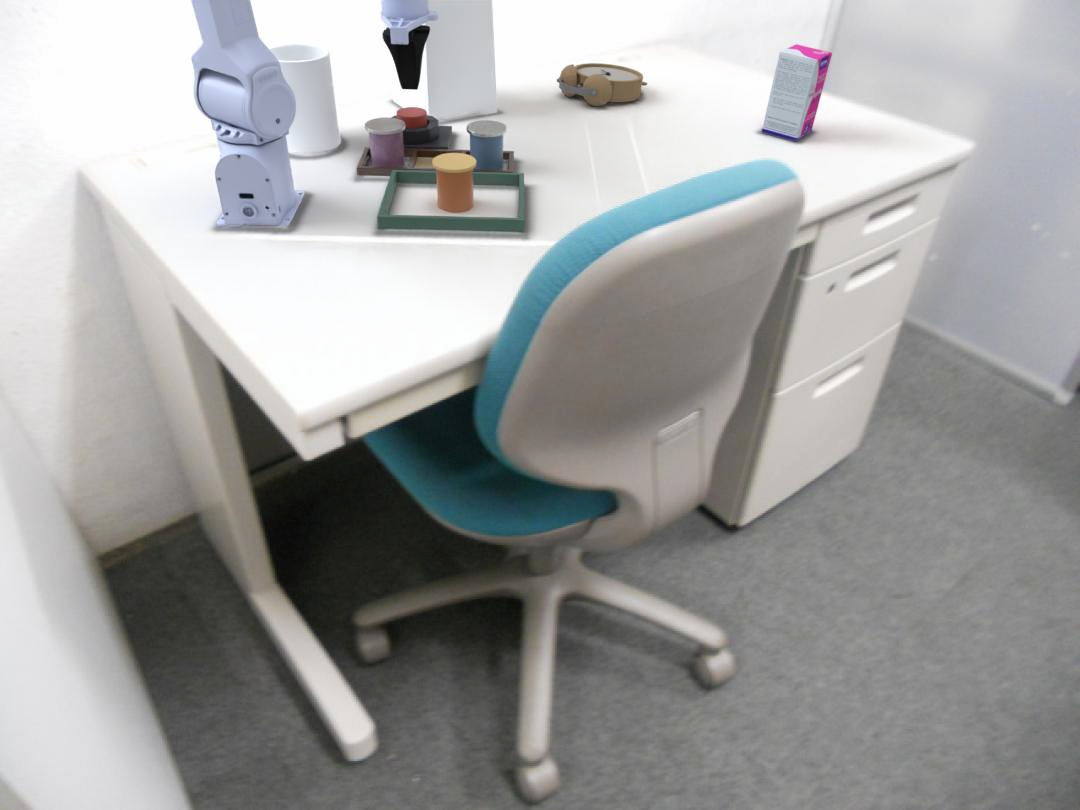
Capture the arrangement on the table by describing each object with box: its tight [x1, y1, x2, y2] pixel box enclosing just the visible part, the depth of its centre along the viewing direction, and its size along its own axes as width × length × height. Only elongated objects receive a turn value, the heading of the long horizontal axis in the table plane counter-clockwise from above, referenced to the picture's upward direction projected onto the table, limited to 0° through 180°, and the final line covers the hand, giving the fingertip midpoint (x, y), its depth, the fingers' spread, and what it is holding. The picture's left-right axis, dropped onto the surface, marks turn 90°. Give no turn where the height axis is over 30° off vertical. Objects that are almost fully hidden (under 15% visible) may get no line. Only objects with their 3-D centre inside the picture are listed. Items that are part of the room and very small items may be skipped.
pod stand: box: [356, 146, 515, 177], centre depth 105 cm, size 7×20×2 cm, turn 91°
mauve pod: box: [364, 117, 406, 167], centre depth 104 cm, size 5×5×5 cm
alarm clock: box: [556, 62, 648, 107], centre depth 130 cm, size 11×5×15 cm
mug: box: [268, 43, 342, 155], centre depth 108 cm, size 12×8×12 cm
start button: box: [396, 107, 427, 128], centre depth 110 cm, size 4×4×2 cm
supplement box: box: [760, 43, 833, 142], centre depth 118 cm, size 6×6×12 cm
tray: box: [376, 170, 525, 233], centre depth 96 cm, size 13×16×2 cm
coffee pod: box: [432, 153, 476, 214], centre depth 95 cm, size 5×5×5 cm
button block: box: [390, 114, 453, 150], centre depth 111 cm, size 10×8×3 cm
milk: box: [391, 0, 498, 121], centre depth 117 cm, size 12×12×26 cm
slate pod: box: [465, 119, 507, 170], centre depth 104 cm, size 5×5×5 cm
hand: (410, 87), depth 108 cm, fingers closed
